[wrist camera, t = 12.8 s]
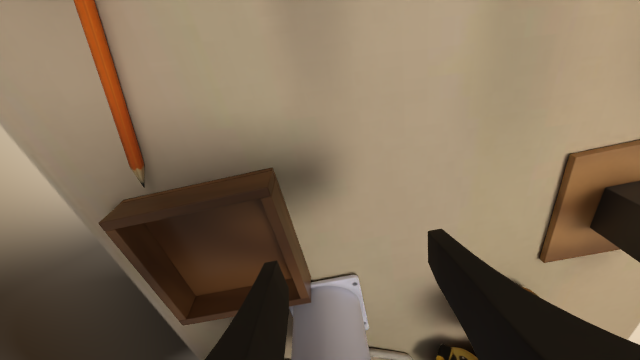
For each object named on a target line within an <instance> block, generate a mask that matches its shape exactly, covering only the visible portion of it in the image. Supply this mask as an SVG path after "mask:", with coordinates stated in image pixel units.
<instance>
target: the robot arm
mask: <svg viewBox="0 0 640 360" xmlns="http://www.w3.org/2000/svg"><path fill="white" fill-rule="evenodd" d="M428 263H429V265H430V267H431V270H432V272H433V275H434V277H435V279H436V281H437V284H438V285H439V287H440V289H441V291H442V293H443V294H444V296H445V298H446V300H447V301H448V303H449V305H450V307H451V308H452V310H453V312H454V314H455V315H456V317H457V319H458V321H459V322H460V324H461V326H462V328H463V329H464V331H465V333H466V335H467V337H468V339H469V341H470V343H471V345H472V347H473V349H474V351H475V354H476V356H477V358H478V360H640V345H638V344H636V343H633V342H631V341H629V340H626V339H624V338H621V337H619V336H617V335H614V334H612V333H610V332H608V331H606V330H603V329H601V328H599V327H597V326H595V325H593V324H590V323H588V322H586V321H584V320H582V319H580V318H578V317H576V316H574V315H572V314H570V313H568V312H566V311H564V310H562V309H560V308H558V307H556V306H554V305H552V304H550V303H549V302H547V301H545V300H543V299H541V298H540V297H538V296H536V295H534V294H532V293H531V292H529V291H527V290H526V289H524V288H522V287H521V286H519V285H518V284H516V283H514V282H513V281H511V280H510V279H508V278H507V277H505V276H504V275H502V274H501V273H499V272H498V271H496V270H495V269H493V268H492V267H490V266H489V265H488V264H486V263H485V262H483V261H482V260H481V259H479V258H478V257H477V256H475V255H474V254H473V253H471V252H470V251H469V250H467V249H466V248H465V247H464V246H462V245H461V244H460V243H459V242H457V241H456V240H455V239H454V238H452V237H451V236H450V235H449V234H448V233H446V232H445V231H444V230H442V229H437V230H432V231H428ZM354 282H355V283H354ZM289 309H290V312H291V314H292V316H293V335H292V356H291V360H371V357H370V352H369V347H368V342H367V336H366V331H365V330H368V329H369V325H368V320H367V315H366V311H365V306H364V301H363V297H362V292H361V287H360V283H359V278H358V276H357V275H348V276H343V277H337V278H332V279H327V280H321V281H316V282H311V303H307V304H301V305H295V306H290V307H289V287H288V285H287V283H286V280H285V278H284V275H283V273H282V271H281V268H280V266H279V264H278V261H277V260H276V261H271V262H265V263H264V265H263V266H262V268H261V270H260V272H259V274H258V276H257V278H256V280H255V282H254V284H253V286H252V288H251V290H250V291H249V293H248V295H247V297H246V298H245V300H244V302H243V304H242V306H241V307H240V309H239V311H238V312H237V314H236V315H235V317H234V319H233V320H232V322H231V323H230V325H229V327H228V328H227V330H226V331H225V333H224V334H223V335H222V337H221V338H220V340H219V341H218V343H217V344H216V345H215V347H214V348H213V349H212V351H211V352H210V353H209V355H208V356H207V357H206V358H205V360H284V354H285V344H286V335H287V325H288V315H289Z"/></svg>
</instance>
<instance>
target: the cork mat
mask: <svg viewBox="0 0 640 360" xmlns="http://www.w3.org/2000/svg"><path fill="white" fill-rule="evenodd" d="M636 181H640V140H637V141H632V142H627V143H622V144H618V145H613V146H608V147H603V148H598V149H593V150H588V151H583V152H578V153H574V154H570V155H569V159H568V162H567V165H566V169H565V172H564V176H563V179H562V183H561V186H560V190H559V193H558V197H557V200H556V203H555V207H554V210H553V214H552V217H551V221H550V224H549V228H548V231H547V235H546V238H545V242H544V245H543V248H542V252H541V255H540V260H541V261H543V262H544V263H546V262H552V261H557V260H563V259H568V258H574V257H580V256H585V255H591V254H597V253H602V252H608V251H613V250H619V249H620V248H618V247H617V246H615V245H614V244H613V243H611V242H610V241H608V240H607V239H605V238H604V237H602V236H601V235H600V234H598V233H597V232H595V231H594V230H592V229H591V228H590V225H591V222H592V220H593V217H594V215H595V212H596V210H597V207H598V205H599V202H600V199H601V197H602V194H603V192H604V189H605V188H606V187H610V186H615V185H620V184H626V183H631V182H636Z"/></svg>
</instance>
